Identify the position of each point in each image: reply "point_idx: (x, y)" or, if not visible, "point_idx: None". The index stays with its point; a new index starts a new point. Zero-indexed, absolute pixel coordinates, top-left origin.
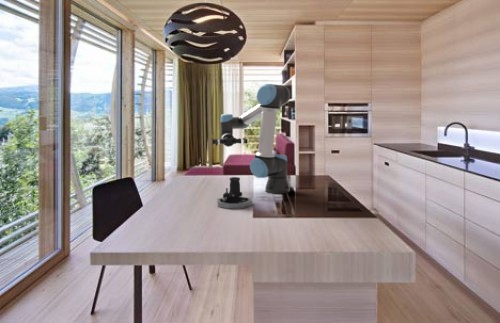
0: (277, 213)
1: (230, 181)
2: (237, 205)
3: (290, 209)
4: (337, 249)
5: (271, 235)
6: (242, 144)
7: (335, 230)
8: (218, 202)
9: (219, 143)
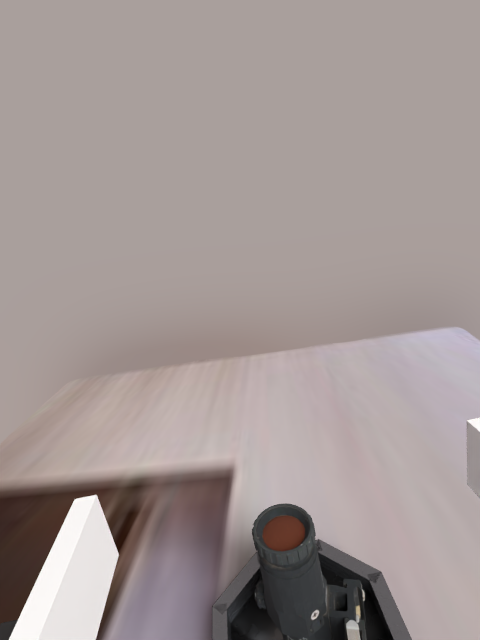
0: (153, 509)
1: (313, 552)
2: None
3: None
4: (145, 373)
5: (214, 391)
6: (109, 586)
7: (97, 420)
8: (376, 570)
9: (470, 463)
